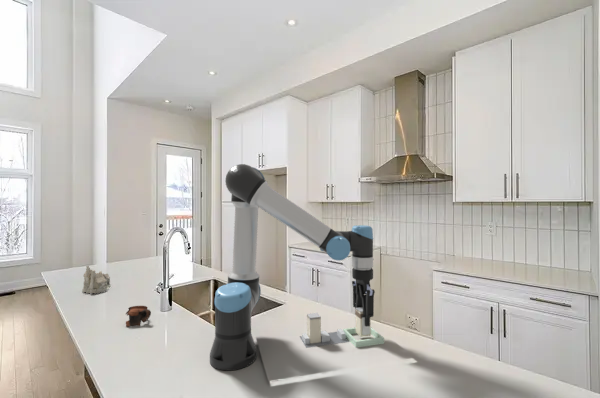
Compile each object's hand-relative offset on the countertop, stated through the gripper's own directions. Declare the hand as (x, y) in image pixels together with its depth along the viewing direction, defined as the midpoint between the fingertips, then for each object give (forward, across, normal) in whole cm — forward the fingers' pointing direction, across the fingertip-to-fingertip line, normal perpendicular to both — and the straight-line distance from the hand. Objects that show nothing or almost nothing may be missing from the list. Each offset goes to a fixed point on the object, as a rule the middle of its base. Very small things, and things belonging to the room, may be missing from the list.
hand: (362, 331), depth 113 cm
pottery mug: (+4, +42, +84) cm, 94 cm away
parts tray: (+4, 0, 0) cm, 4 cm away
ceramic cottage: (+4, +102, +118) cm, 156 cm away
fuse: (+3, +4, +18) cm, 18 cm away
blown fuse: (+1, 0, 0) cm, 1 cm away
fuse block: (+4, +4, +14) cm, 15 cm away
